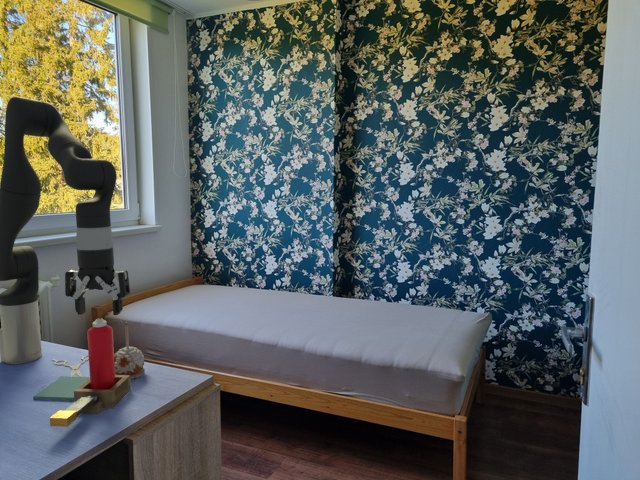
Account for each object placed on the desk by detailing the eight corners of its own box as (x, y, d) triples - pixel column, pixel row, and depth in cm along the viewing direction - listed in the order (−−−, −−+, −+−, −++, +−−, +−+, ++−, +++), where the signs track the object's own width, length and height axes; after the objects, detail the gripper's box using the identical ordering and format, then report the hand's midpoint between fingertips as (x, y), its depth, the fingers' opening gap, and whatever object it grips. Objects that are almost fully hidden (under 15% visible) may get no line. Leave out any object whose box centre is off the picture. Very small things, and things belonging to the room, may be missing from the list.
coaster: (33, 399, 106) (33, 396, 106) (61, 379, 117) (61, 376, 117) (78, 400, 106) (77, 397, 106) (102, 380, 117) (102, 377, 117)
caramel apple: (106, 378, 118) (103, 324, 116) (130, 367, 125) (128, 316, 123) (127, 384, 115) (124, 328, 113) (150, 372, 122) (148, 320, 120)
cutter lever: (83, 400, 102) (83, 392, 101) (98, 400, 101) (98, 393, 101) (50, 426, 90) (49, 417, 90) (67, 426, 90) (67, 418, 90)
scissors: (92, 352, 135) (98, 376, 118) (92, 355, 135) (99, 379, 118) (51, 359, 129) (52, 385, 112) (52, 362, 129) (52, 388, 113)
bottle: (115, 391, 111) (111, 314, 108) (117, 400, 106) (112, 320, 103) (90, 396, 108) (86, 317, 106) (91, 406, 104) (86, 323, 101)
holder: (68, 412, 100) (67, 396, 100) (95, 389, 112) (94, 374, 111) (107, 414, 100) (106, 397, 100) (130, 390, 112) (130, 375, 111)
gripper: (132, 244, 106) (136, 310, 108) (74, 243, 106) (79, 309, 108) (117, 249, 98) (121, 319, 100) (54, 248, 99) (59, 318, 101)
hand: (99, 314), depth 104 cm, fingers open, 8 cm apart
